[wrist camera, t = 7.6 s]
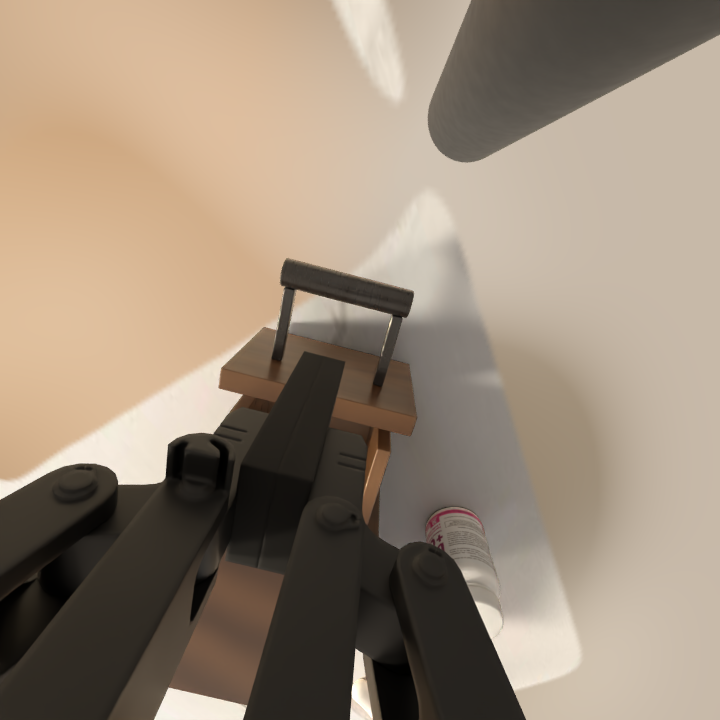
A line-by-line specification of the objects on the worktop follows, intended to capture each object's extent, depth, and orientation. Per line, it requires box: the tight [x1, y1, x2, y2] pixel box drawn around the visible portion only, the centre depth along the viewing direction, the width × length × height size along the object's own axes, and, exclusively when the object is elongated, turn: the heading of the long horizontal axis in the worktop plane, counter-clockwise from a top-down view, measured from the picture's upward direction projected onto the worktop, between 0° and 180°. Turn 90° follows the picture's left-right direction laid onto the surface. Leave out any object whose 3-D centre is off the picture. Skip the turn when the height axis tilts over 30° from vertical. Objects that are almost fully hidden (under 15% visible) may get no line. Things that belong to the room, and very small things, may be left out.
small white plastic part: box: [352, 679, 373, 719], centre depth 40 cm, size 4×6×3 cm, turn 24°
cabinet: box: [169, 488, 380, 705], centre depth 31 cm, size 15×12×10 cm
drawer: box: [219, 258, 417, 525], centre depth 26 cm, size 19×10×8 cm, turn 166°
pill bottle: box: [425, 507, 504, 640], centre depth 30 cm, size 5×5×8 cm
